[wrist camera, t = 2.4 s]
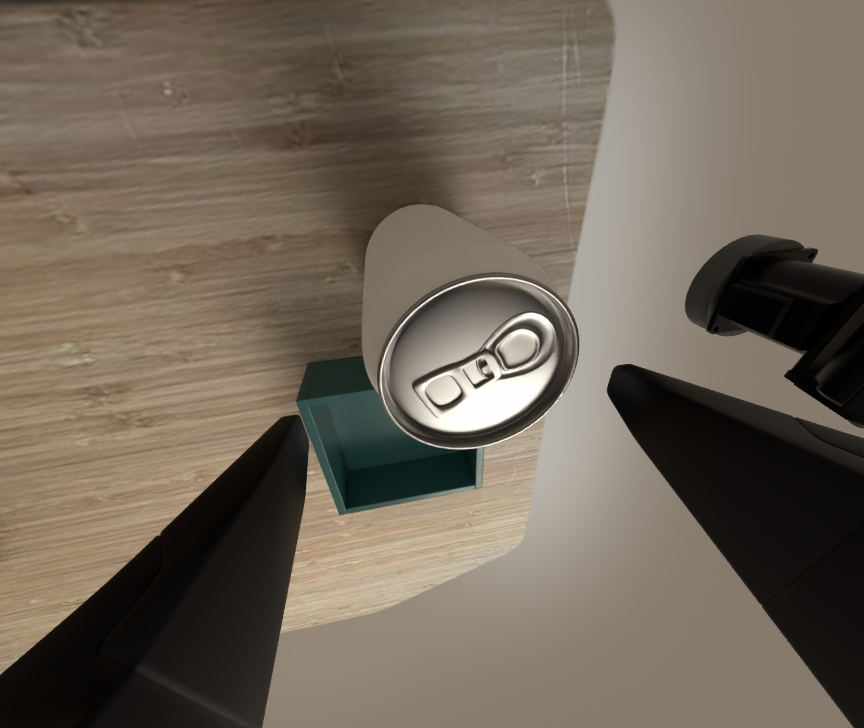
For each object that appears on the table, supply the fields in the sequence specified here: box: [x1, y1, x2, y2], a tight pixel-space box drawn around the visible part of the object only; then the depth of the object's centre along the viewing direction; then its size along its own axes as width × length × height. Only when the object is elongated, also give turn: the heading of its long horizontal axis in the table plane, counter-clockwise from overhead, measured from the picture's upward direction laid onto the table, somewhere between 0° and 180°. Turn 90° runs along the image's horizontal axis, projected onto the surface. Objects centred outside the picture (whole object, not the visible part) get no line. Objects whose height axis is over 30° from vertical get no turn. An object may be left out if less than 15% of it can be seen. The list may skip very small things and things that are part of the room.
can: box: [362, 204, 579, 449], centre depth 13 cm, size 6×6×12 cm
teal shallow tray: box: [296, 356, 484, 515], centre depth 23 cm, size 11×11×4 cm
